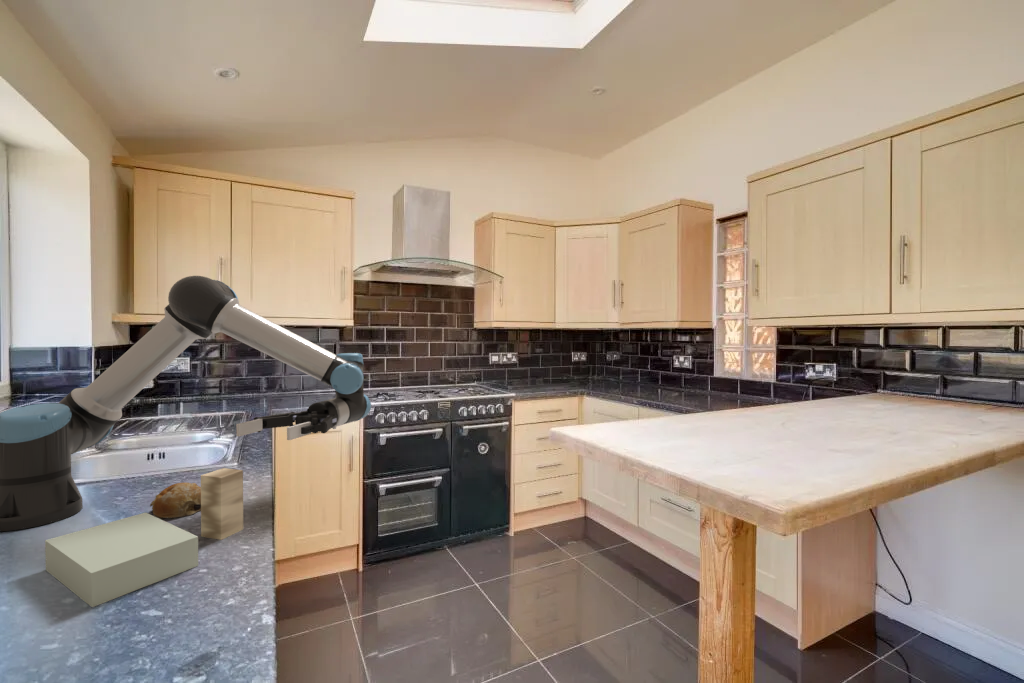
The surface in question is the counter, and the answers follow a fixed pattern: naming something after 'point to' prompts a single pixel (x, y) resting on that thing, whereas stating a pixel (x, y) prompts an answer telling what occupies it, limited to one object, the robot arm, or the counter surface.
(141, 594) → the counter surface
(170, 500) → the bread roll
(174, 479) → the counter surface
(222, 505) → the birch block
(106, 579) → the block
